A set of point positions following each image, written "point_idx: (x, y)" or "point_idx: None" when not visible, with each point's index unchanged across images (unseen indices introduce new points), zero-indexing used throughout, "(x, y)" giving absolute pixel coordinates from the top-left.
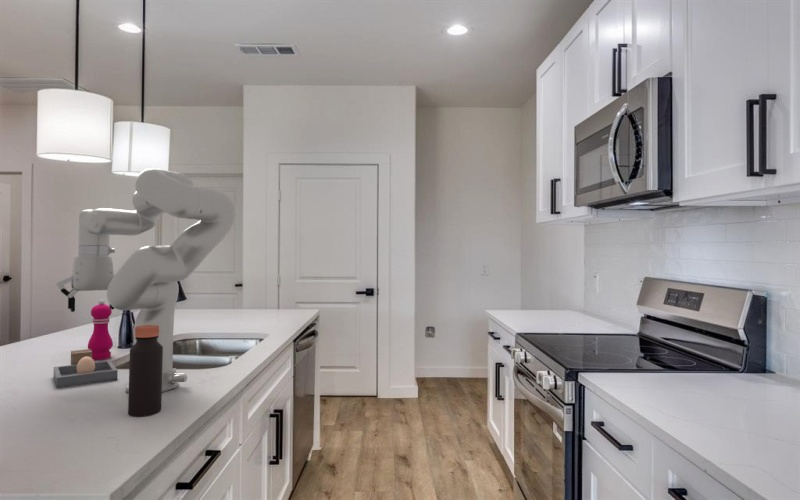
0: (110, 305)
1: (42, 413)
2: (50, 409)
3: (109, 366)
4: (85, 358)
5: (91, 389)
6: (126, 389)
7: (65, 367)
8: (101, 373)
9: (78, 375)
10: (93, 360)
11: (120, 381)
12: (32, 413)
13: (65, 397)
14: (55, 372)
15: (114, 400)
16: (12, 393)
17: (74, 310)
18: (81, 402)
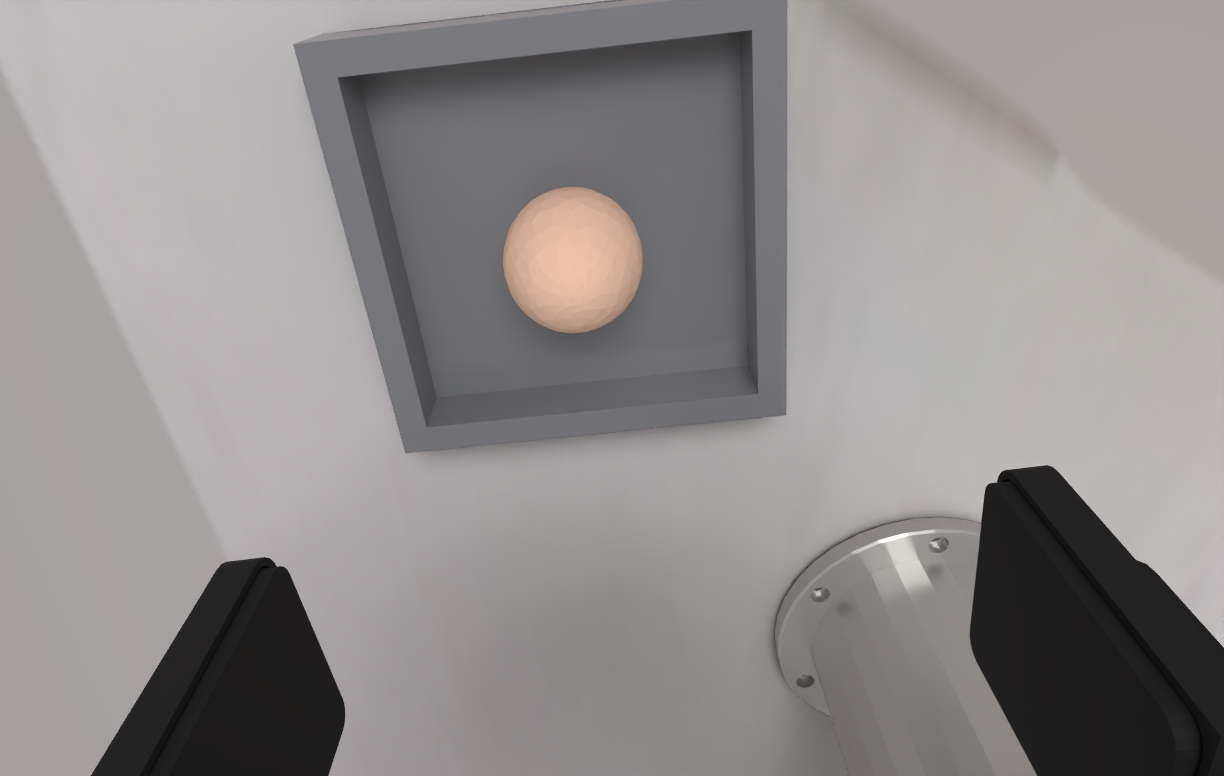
0: (1008, 624)
1: (439, 756)
2: (460, 726)
3: (753, 213)
4: (566, 320)
5: (614, 518)
6: (777, 650)
7: (397, 67)
8: (678, 420)
9: (534, 437)
10: (631, 280)
11: (782, 423)
12: (400, 743)
13: (496, 599)
14: (360, 284)
15: (707, 720)
16: (189, 410)
17: (337, 726)
18: (574, 693)
